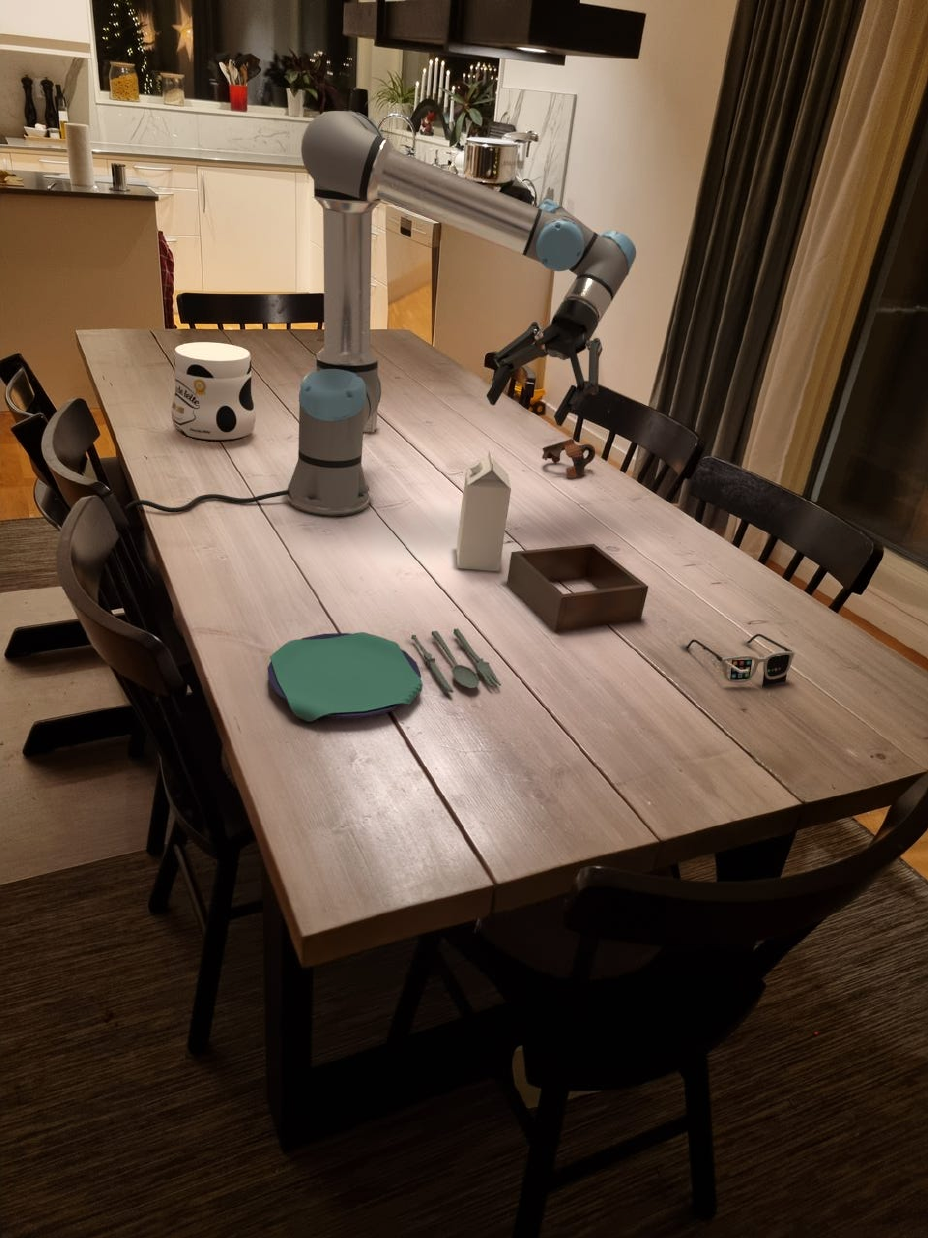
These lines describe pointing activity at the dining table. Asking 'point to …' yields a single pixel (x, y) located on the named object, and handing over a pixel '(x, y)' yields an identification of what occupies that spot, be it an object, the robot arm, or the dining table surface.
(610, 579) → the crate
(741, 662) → the smart glasses
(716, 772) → the dining table surface
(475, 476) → the milk carton
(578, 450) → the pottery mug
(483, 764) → the dining table surface
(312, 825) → the dining table surface
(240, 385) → the milk container
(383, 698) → the cutlery set
